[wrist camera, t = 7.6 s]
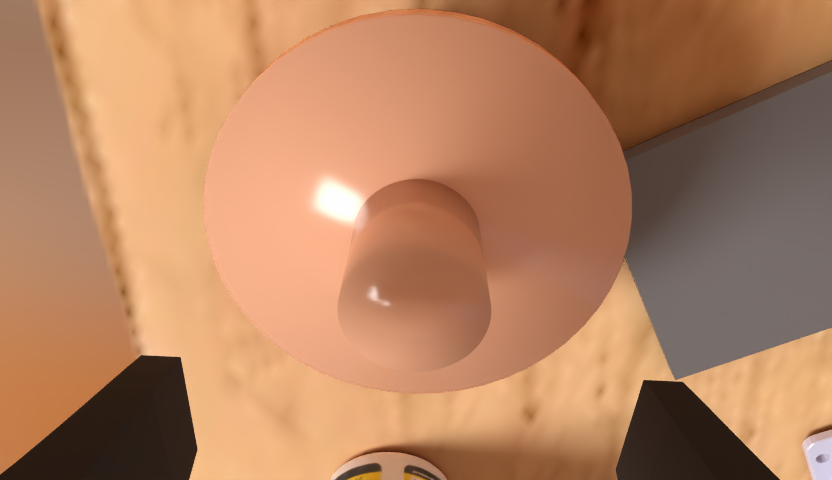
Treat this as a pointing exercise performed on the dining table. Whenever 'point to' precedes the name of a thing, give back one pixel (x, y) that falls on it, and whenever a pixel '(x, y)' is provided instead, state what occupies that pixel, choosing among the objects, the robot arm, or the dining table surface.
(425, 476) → the supplement bottle
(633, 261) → the mat
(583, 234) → the lid
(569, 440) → the dining table surface
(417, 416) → the dining table surface
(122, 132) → the dining table surface
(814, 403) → the dining table surface
